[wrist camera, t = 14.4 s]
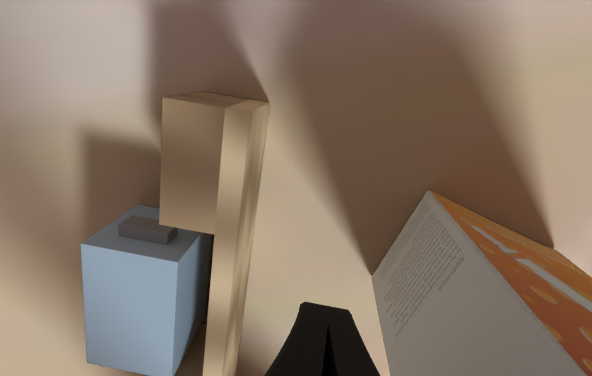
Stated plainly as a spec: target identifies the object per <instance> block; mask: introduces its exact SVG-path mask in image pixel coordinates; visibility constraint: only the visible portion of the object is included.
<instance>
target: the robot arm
mask: <svg viewBox="0 0 592 376" xmlns="http://www.w3.org/2000/svg"><path fill="white" fill-rule="evenodd" d="M265 376H380V374H379V372H378V370H377V369H376V367H375V365H374V363H373V361H372V359H371V357H370V355H369V353H368V351H367V349H366V347H365V345H364V343H363V340H362V338H361V336H360V334H359V332H358V329H357V327H356V325H355V322H354V320H353V318H352V315H351V313H350V312H349V310H346V309H340V308H335V307H330V306H325V305H319V304H314V303H309V302H304V303H302V304H300V308H299V312H298V316H297V318H296V321H295V323H294V325H293V328H292V330H291V332H290V334H289V336H288V338H287V339H286V341H285V343H284V345H283V347H282V349H281V350H280V352H279V354H278V356H277V357H276V359H275V360H274V362H273V363H272V365H271V366H270V368H269V369H268V371H267V373H266V374H265Z"/></svg>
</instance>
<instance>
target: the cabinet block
mask: <svg viewBox="0 0 592 376" xmlns="http://www.w3.org/2000/svg"><path fill="white" fill-rule="evenodd" d="M159 213H160V208H155V207H150V206H145V205H139V204H138V205H136V206H135V207H133V208H132V209H130V210H129V211H127V212H126V213H124V214H123V215H122V216H120V217H119V218H117V219H116V220H114V221H113V222H111V223H110V224H108V225H107V226H105V227H104V228H103V229H101V230H100V231H98V232H97V233H95V234H94V235H92V236H91V237H89V238H88V239H87V240H85V241H84V242H82V243H81V261H82V279H83V298H84V317H85V336H86V354H87V363H90V364H95V365H100V366H105V367H109V368H114V369H119V370H124V371H129V372H134V373H139V374H144V375H148V376H174V375H175V373H176V371H177V369H178V367H179V365H180V363H181V361H182V359H183V357H184V355H185V353H186V351H187V349H188V347H189V345H190V343H191V342H192V340H193V338H194V336H195V334H196V332H197V330H198V328H199V326H200V324H201V322H202V320H203V318H204V315H205V304H206V293H207V281H208V270H209V258H210V247H211V236H212V234H208V233H203V232H197V231H192V230H186V229H181V228H176V227H170V226H165V225H159Z"/></svg>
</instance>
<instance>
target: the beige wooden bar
mask: <svg viewBox="0 0 592 376" xmlns="http://www.w3.org/2000/svg"><path fill="white" fill-rule="evenodd" d="M269 106H270V103H269V102H263V101H257V100H251V99H245V98H239V97H233V96H227V95H221V94H215V93H209V92H196V93H189V94H182V95H175V96H168V97H162V132H161V172H160V213H159V225H165V226H170V227H176V228H181V229H186V230H192V231H197V232H203V233H208V234H214V246H213V258H212V270H211V282H210V294H209V306H208V318H207V324H205V323H201V324H200V326H199V328H198V330H197V332H196V334H195V336H194V338H193V340H192V342H191V343H190V345H189V347H188V349H187V351H186V353H185V355H184V357H183V359H182V361H181V363H180V365H179V367H178V369H177V371H176V373H175V375H174V376H236V369H237V361H238V353H239V345H240V337H241V329H242V321H243V313H244V305H245V297H246V289H247V281H248V273H249V265H250V257H251V249H252V241H253V233H254V225H255V217H256V209H257V201H258V193H259V185H260V177H261V169H262V162H263V154H264V146H265V138H266V130H267V122H268V114H269Z"/></svg>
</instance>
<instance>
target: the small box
mask: <svg viewBox="0 0 592 376" xmlns="http://www.w3.org/2000/svg"><path fill="white" fill-rule="evenodd" d="M372 284H373V289H374V294H375V299H376V305H377V310H378V315H379V320H380V325H381V330H382V335H383V341H384V345H385V350H386V355H387V359H388V364H389V370H390V375H391V376H592V278H591V277H590V276H589V275H587V274H586V273H585V272H584V271H582V270H581V269H580V268H579V267H577V266H576V265H575V264H573V263H572V262H571V261H570V260H568V259H567V258H566V257H564V256H563V255H562V254H561V253H559V252H558V251H556V250H554V249H551V248H549V247H547V246H544V245H542V244H540V243H537V242H535V241H533V240H531V239H529V238H526V237H524V236H522V235H520V234H518V233H516V232H514V231H512V230H510V229H508V228H506V227H504V226H501V225H499V224H497V223H495V222H493V221H491V220H489V219H487V218H485V217H483V216H481V215H479V214H477V213H475V212H473V211H471V210H469V209H467V208H465V207H463V206H461V205H459V204H457V203H455V202H453V201H451V200H449V199H447V198H445V197H443V196H441V195H439V194H437V193H435V192H433V191H431V190H428V191H427V192H426V193H425V195H424V196H423V198H422V199H421V201H420V203H419V204H418V206H417V207H416V209H415V210H414V212H413V213H412V215H411V216H410V218H409V220H408V221H407V223H406V224H405V226H404V227H403V229H402V231H401V232H400V234H399V235H398V237H397V238H396V240H395V241H394V243H393V244H392V246H391V247H390V249H389V250H388V252H387V254H386V255H385V257H384V258H383V260H382V261H381V263H380V265H379V266H378V268H377V269H376V271H375V272H374V274H373V275H372Z"/></svg>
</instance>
